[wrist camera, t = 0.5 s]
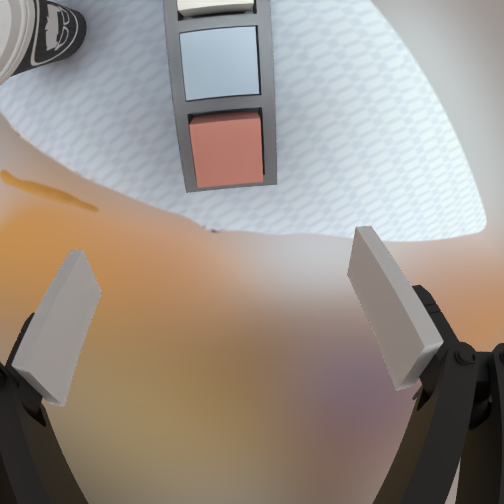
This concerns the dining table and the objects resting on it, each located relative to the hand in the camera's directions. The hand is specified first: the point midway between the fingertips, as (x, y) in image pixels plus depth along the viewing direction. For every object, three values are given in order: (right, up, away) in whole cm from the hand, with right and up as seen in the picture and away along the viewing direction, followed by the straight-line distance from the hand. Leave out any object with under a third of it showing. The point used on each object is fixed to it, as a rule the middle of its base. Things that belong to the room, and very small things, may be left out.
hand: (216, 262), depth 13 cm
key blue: (-1, +18, +10) cm, 21 cm away
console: (-2, +20, +14) cm, 24 cm away
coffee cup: (-20, +25, +8) cm, 33 cm away
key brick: (-1, +11, +15) cm, 19 cm away
